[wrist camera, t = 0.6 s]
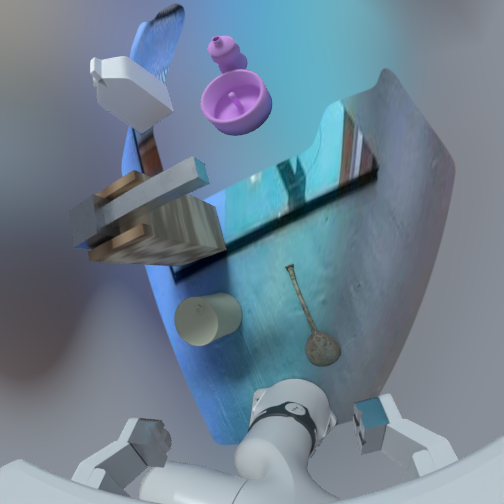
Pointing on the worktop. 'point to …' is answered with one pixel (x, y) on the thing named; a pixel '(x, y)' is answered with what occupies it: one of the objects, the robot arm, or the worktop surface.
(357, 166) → the worktop surface
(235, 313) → the can
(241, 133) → the container set
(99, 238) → the steel bar
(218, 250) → the post
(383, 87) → the worktop surface
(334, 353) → the soupspoon
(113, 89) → the milk
